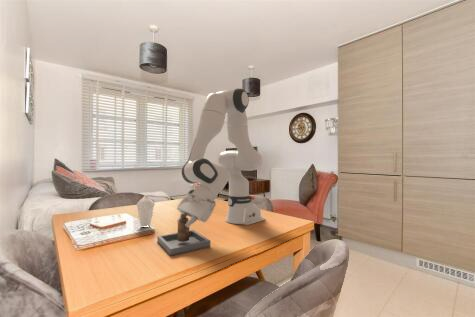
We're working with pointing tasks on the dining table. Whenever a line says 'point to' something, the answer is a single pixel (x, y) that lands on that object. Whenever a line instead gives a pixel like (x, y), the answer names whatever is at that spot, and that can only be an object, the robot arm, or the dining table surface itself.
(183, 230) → the brown bottle
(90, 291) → the dining table surface
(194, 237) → the tray
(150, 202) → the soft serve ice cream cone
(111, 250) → the dining table surface
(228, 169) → the robot arm
